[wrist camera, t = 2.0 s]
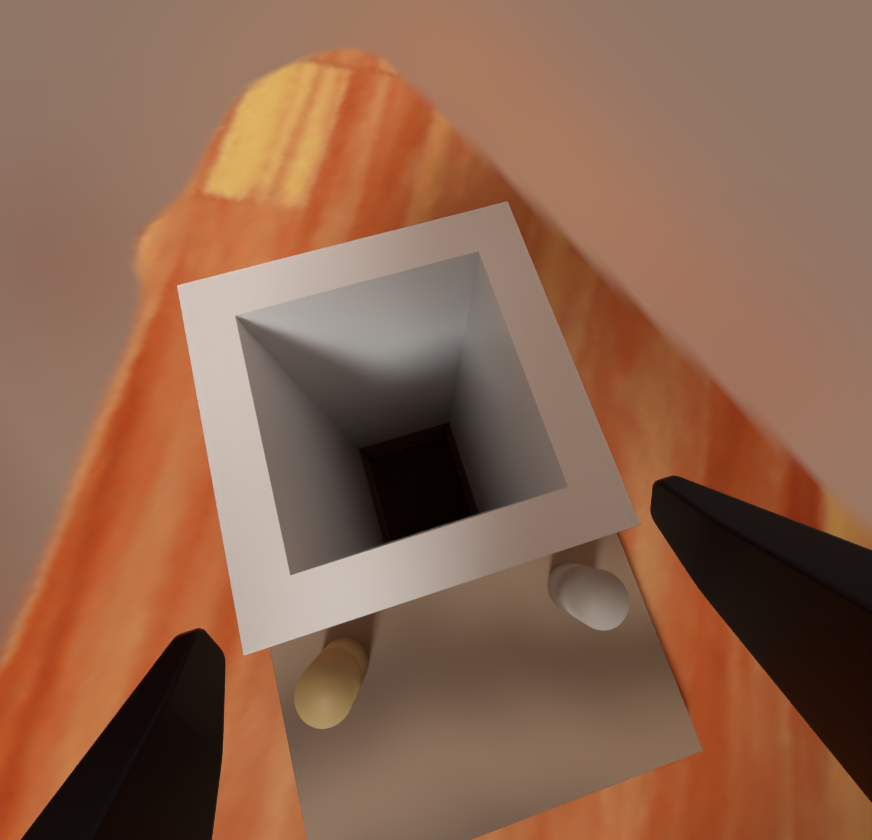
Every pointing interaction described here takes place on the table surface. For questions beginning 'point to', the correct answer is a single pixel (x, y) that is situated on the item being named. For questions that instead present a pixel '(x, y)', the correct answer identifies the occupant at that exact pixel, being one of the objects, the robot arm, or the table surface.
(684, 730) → the pin board
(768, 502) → the table surface
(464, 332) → the grey sleeve
